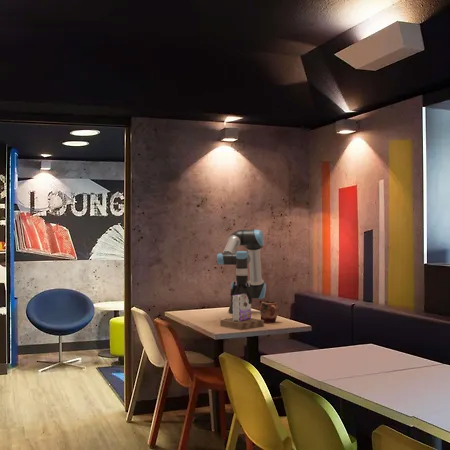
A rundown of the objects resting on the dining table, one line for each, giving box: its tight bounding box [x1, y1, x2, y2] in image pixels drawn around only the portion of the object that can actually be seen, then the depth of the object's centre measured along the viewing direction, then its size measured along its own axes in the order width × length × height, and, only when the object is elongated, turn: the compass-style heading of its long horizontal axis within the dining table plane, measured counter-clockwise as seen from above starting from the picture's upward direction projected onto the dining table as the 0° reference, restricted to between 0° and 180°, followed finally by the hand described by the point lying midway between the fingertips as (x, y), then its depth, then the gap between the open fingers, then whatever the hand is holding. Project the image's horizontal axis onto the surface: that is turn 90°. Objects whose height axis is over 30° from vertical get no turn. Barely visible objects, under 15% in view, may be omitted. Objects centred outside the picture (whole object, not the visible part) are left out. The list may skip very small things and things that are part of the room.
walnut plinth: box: [219, 317, 265, 331], centre depth 391 cm, size 20×20×4 cm
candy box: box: [231, 294, 252, 322], centre depth 391 cm, size 14×6×16 cm, turn 146°
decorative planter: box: [258, 300, 280, 324], centre depth 406 cm, size 20×12×14 cm, turn 26°
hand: (242, 307), depth 391 cm, fingers open, 13 cm apart
